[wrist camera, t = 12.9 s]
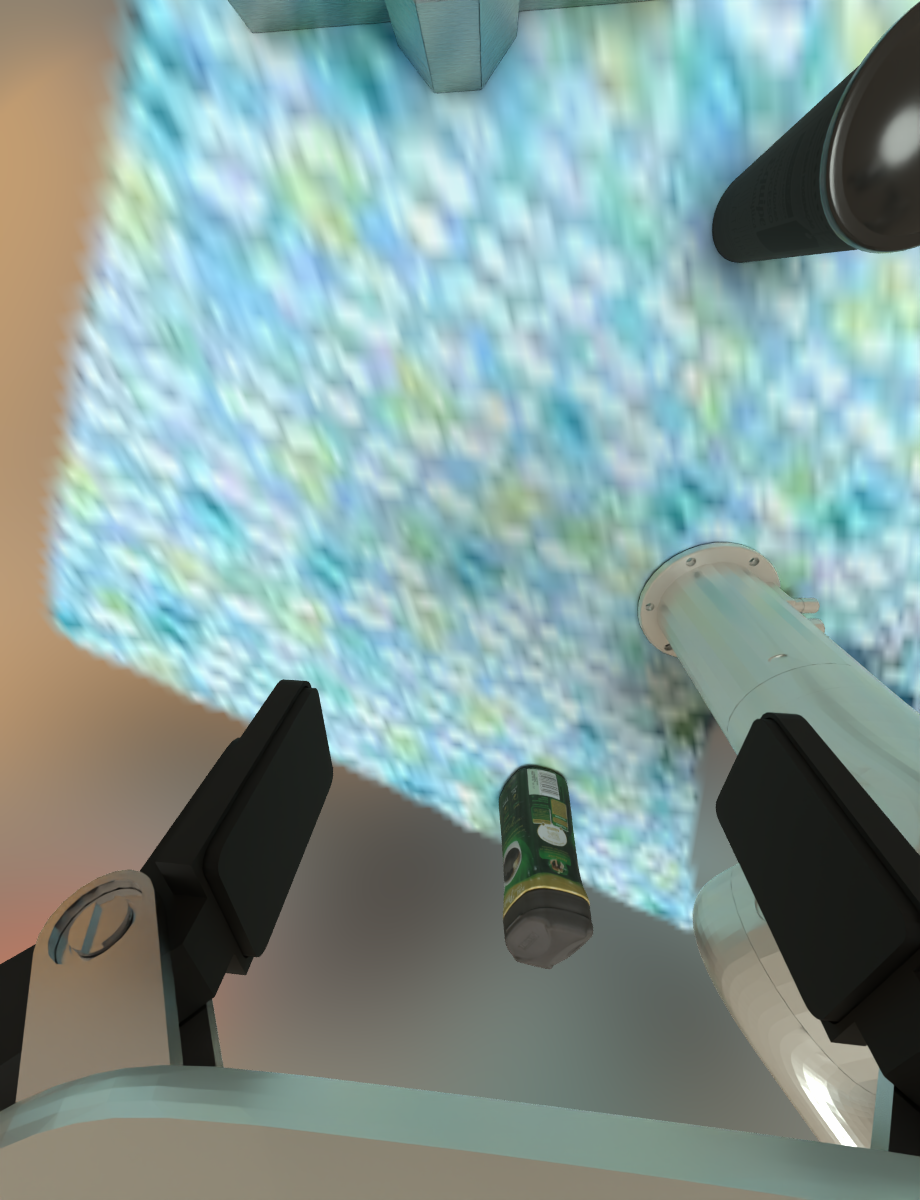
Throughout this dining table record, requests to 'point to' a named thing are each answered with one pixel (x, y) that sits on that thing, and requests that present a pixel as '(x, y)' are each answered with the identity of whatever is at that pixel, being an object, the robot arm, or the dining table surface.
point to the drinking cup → (838, 167)
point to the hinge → (418, 29)
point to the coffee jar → (541, 870)
